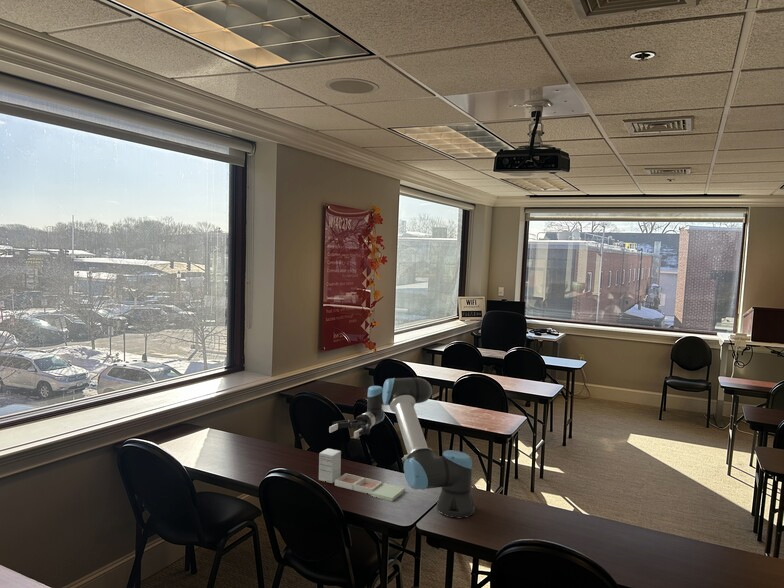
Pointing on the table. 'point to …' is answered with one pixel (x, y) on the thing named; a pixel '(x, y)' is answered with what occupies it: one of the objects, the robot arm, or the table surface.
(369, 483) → the track
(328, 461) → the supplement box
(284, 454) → the table surface
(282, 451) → the table surface
